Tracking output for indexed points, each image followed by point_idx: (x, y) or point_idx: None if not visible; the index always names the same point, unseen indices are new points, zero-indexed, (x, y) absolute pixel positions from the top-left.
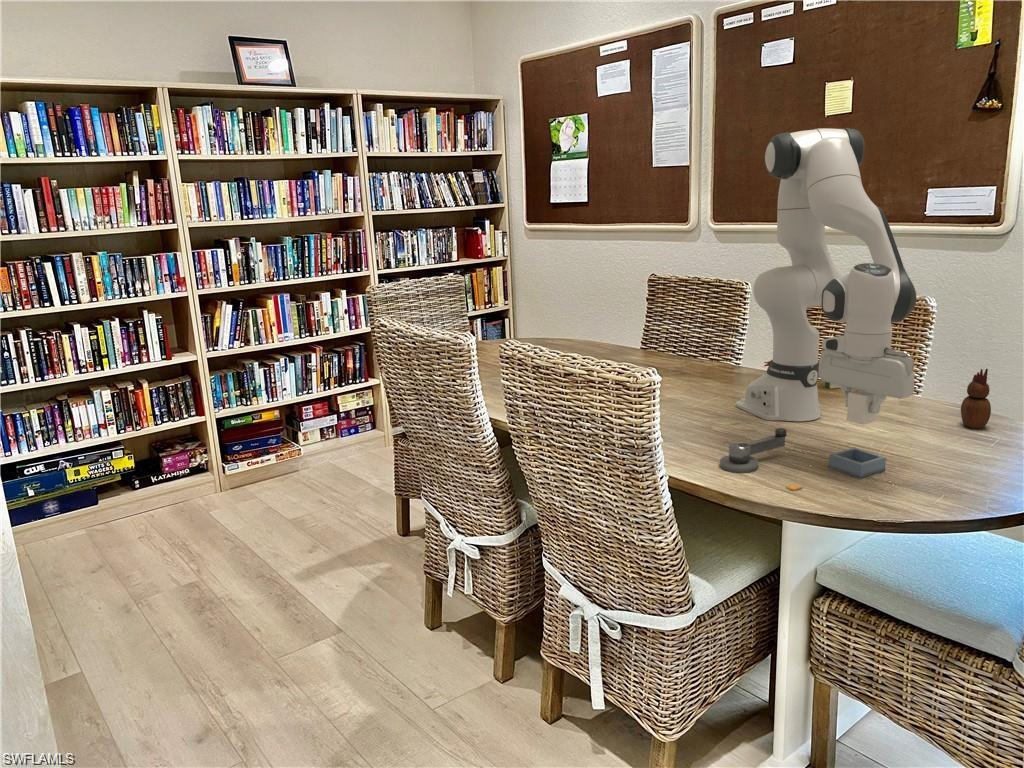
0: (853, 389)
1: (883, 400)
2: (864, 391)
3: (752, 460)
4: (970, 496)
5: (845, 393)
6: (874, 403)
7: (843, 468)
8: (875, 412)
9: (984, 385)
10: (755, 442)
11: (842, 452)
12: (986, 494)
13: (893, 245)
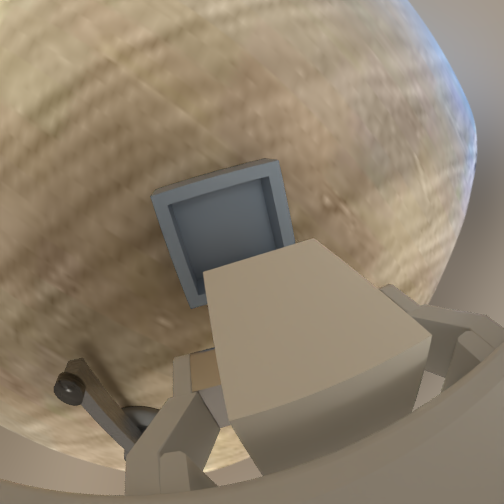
0: (185, 454)
1: (461, 318)
2: (312, 418)
3: (144, 421)
4: (431, 115)
5: (202, 469)
6: None
7: None
8: None
9: None
10: (125, 440)
11: (187, 265)
12: (431, 82)
13: None
